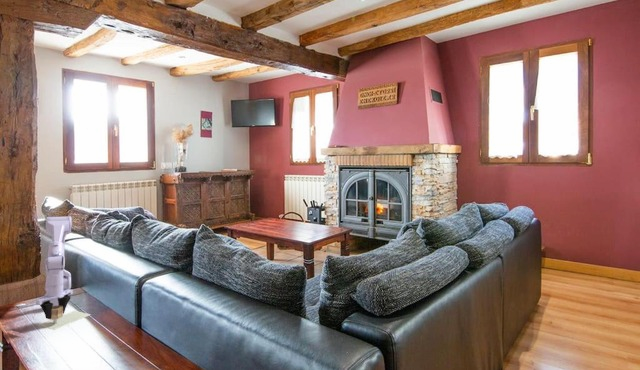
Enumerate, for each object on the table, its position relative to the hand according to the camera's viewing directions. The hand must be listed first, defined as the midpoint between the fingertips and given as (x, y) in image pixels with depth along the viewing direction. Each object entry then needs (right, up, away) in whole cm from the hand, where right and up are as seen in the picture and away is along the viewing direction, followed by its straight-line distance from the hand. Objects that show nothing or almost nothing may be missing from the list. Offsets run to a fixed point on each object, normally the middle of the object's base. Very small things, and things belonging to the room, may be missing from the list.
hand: (55, 315), depth 163 cm
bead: (0, -1, 0) cm, 1 cm away
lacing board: (+1, -4, +5) cm, 6 cm away
